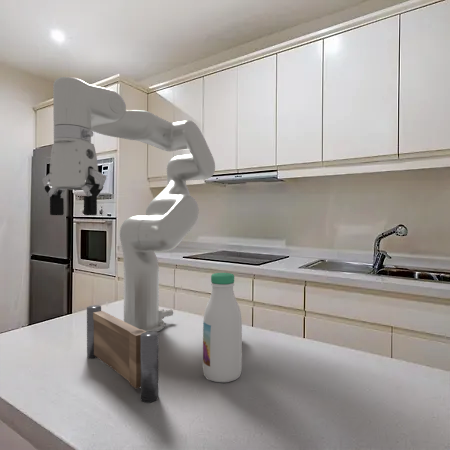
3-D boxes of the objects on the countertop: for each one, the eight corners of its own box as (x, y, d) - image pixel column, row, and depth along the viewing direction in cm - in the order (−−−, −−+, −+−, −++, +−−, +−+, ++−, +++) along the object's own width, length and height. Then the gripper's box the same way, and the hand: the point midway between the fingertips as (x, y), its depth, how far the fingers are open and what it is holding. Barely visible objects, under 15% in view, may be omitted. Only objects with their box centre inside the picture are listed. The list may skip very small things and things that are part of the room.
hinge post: (98, 351, 75) (97, 304, 75) (103, 355, 73) (103, 307, 73) (84, 355, 73) (84, 307, 73) (90, 359, 71) (89, 309, 70)
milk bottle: (246, 368, 67) (246, 272, 67) (235, 386, 60) (235, 278, 59) (211, 362, 70) (211, 270, 69) (196, 379, 62) (196, 276, 62)
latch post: (152, 391, 58) (152, 330, 58) (161, 397, 56) (161, 334, 56) (137, 397, 56) (137, 334, 56) (146, 404, 54) (146, 339, 54)
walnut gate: (102, 352, 72) (102, 310, 72) (148, 384, 59) (148, 332, 58) (92, 355, 71) (91, 312, 70) (136, 388, 57) (136, 335, 57)
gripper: (116, 138, 72) (116, 215, 72) (57, 144, 78) (58, 215, 79) (90, 129, 65) (91, 215, 65) (29, 137, 71) (29, 215, 72)
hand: (73, 215), depth 72 cm, fingers open, 9 cm apart
